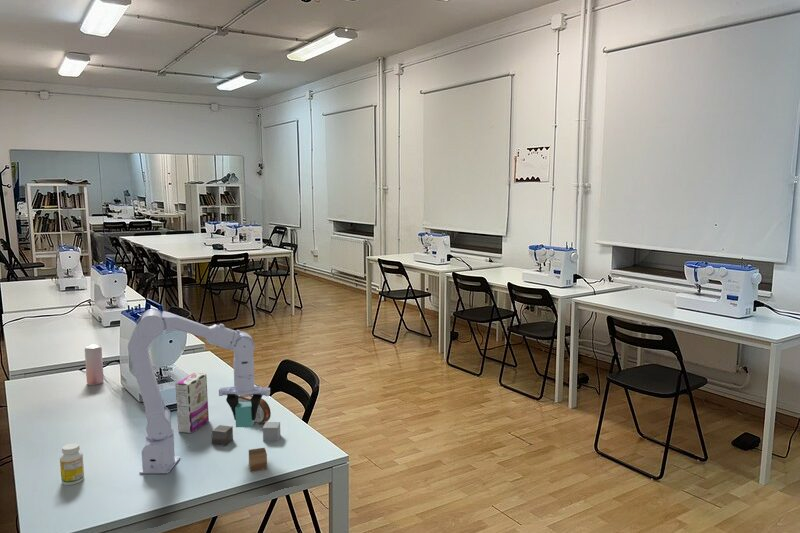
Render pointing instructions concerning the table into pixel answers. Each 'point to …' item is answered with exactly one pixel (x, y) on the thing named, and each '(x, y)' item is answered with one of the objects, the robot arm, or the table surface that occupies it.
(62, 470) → the supplement bottle
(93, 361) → the beverage can
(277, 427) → the slate-grey block
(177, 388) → the candy bar box
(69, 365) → the table surface
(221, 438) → the charcoal block
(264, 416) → the tin
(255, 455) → the walnut block
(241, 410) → the teal block
